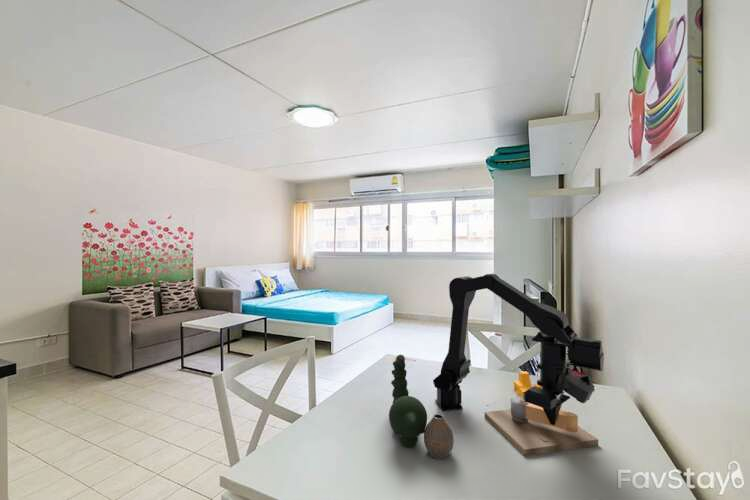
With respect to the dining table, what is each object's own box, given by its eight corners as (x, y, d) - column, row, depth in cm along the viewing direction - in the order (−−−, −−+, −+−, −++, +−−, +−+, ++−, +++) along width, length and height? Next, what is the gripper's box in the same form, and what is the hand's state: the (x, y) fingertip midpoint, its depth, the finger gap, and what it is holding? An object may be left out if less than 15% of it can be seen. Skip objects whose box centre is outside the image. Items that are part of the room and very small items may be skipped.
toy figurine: (383, 416, 99) (392, 462, 75) (382, 351, 101) (391, 374, 76) (415, 415, 100) (434, 460, 75) (413, 350, 102) (432, 373, 77)
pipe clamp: (513, 390, 113) (513, 371, 113) (526, 390, 113) (526, 371, 113) (531, 407, 101) (531, 386, 101) (545, 407, 101) (545, 385, 101)
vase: (455, 447, 81) (455, 411, 81) (452, 465, 74) (451, 426, 74) (426, 442, 83) (426, 407, 83) (421, 459, 76) (421, 421, 76)
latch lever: (508, 415, 90) (508, 402, 90) (513, 409, 93) (513, 396, 93) (576, 434, 80) (576, 420, 80) (578, 427, 84) (578, 413, 84)
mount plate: (524, 455, 77) (524, 444, 77) (484, 417, 95) (484, 407, 95) (598, 445, 81) (598, 434, 81) (546, 410, 99) (546, 401, 99)
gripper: (574, 379, 71) (573, 453, 71) (603, 362, 83) (602, 425, 83) (523, 365, 80) (522, 431, 79) (555, 351, 92) (555, 409, 91)
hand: (552, 424), depth 83 cm, fingers closed
